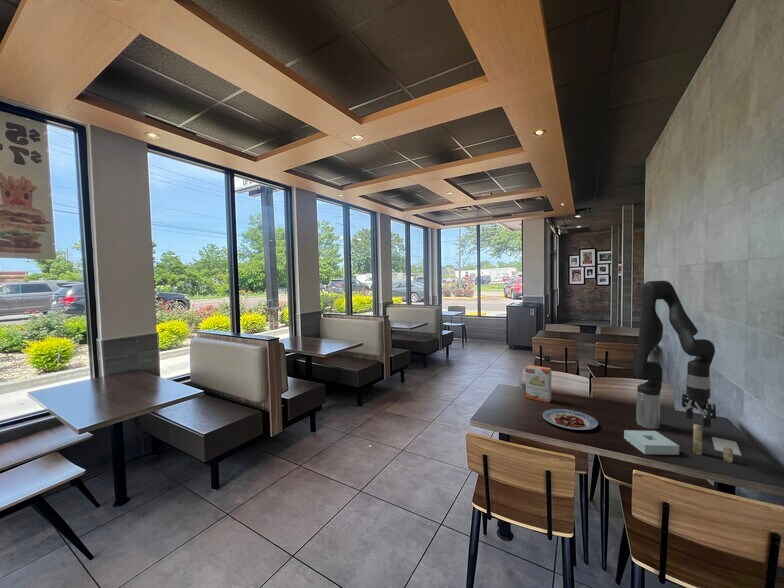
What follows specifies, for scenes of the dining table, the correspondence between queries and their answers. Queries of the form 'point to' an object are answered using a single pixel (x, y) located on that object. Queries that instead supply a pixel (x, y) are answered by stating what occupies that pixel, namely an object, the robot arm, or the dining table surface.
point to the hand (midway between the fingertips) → (697, 422)
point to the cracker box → (538, 383)
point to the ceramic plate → (570, 419)
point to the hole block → (651, 442)
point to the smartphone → (726, 445)
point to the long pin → (697, 439)
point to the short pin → (728, 455)
